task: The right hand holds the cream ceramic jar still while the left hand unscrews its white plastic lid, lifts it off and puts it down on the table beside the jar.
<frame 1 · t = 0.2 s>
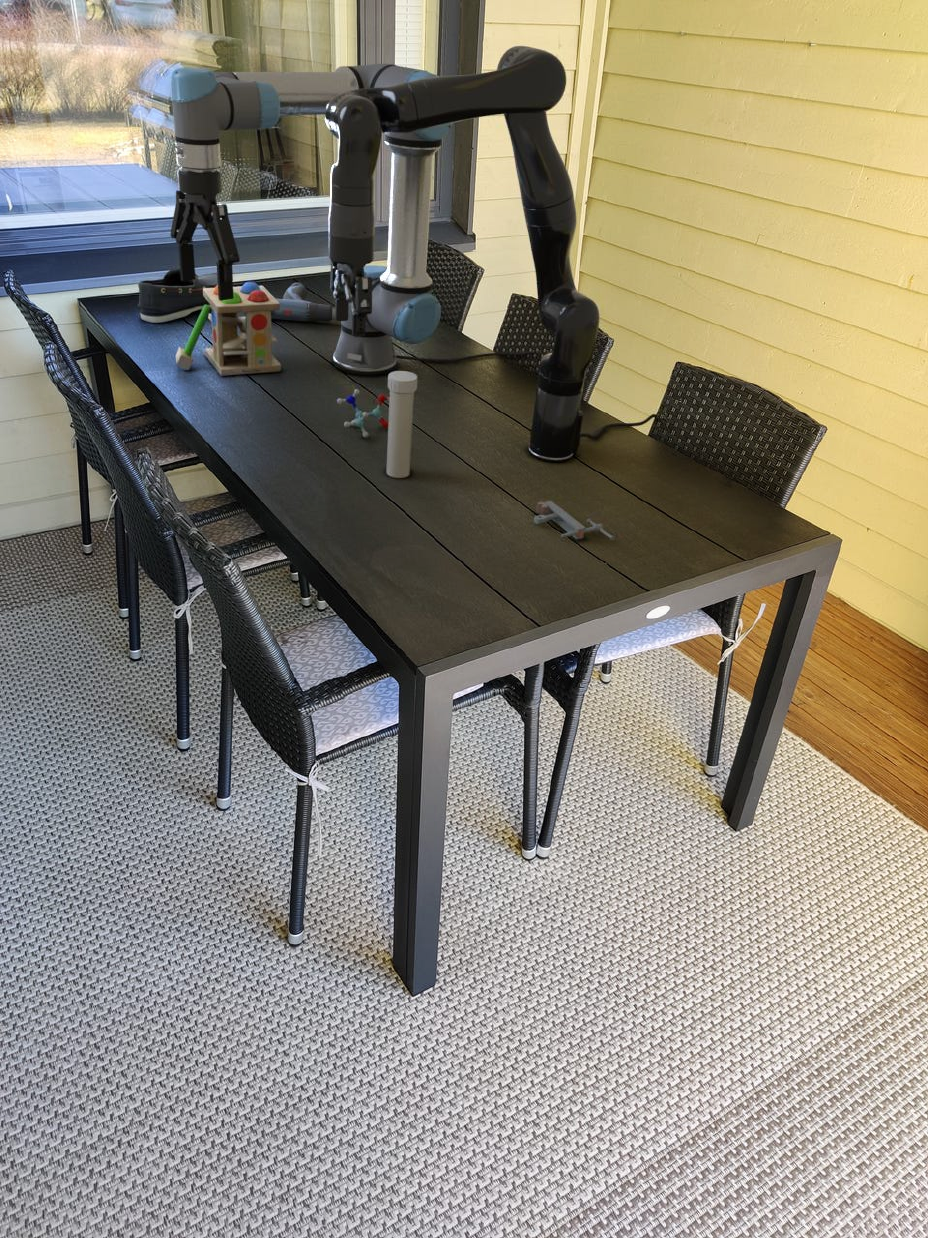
left hand: (206, 289, 186), 28 cm above the table, tool pointing down, fingers open, 13 cm apart
right hand: (349, 328, 170), 29 cm above the table, tool pointing down, fingers open, 8 cm apart
molecular model: (362, 429, 207), on the table
pounding bench toy: (225, 365, 230), on the table
power drill: (305, 313, 267), on the table
clamp: (567, 530, 178), on the table
boat shoe: (186, 307, 263), on the table
jar: (397, 472, 191), on the table
lid: (402, 377, 180), point 19 cm above the table, screwed on, not yet turned
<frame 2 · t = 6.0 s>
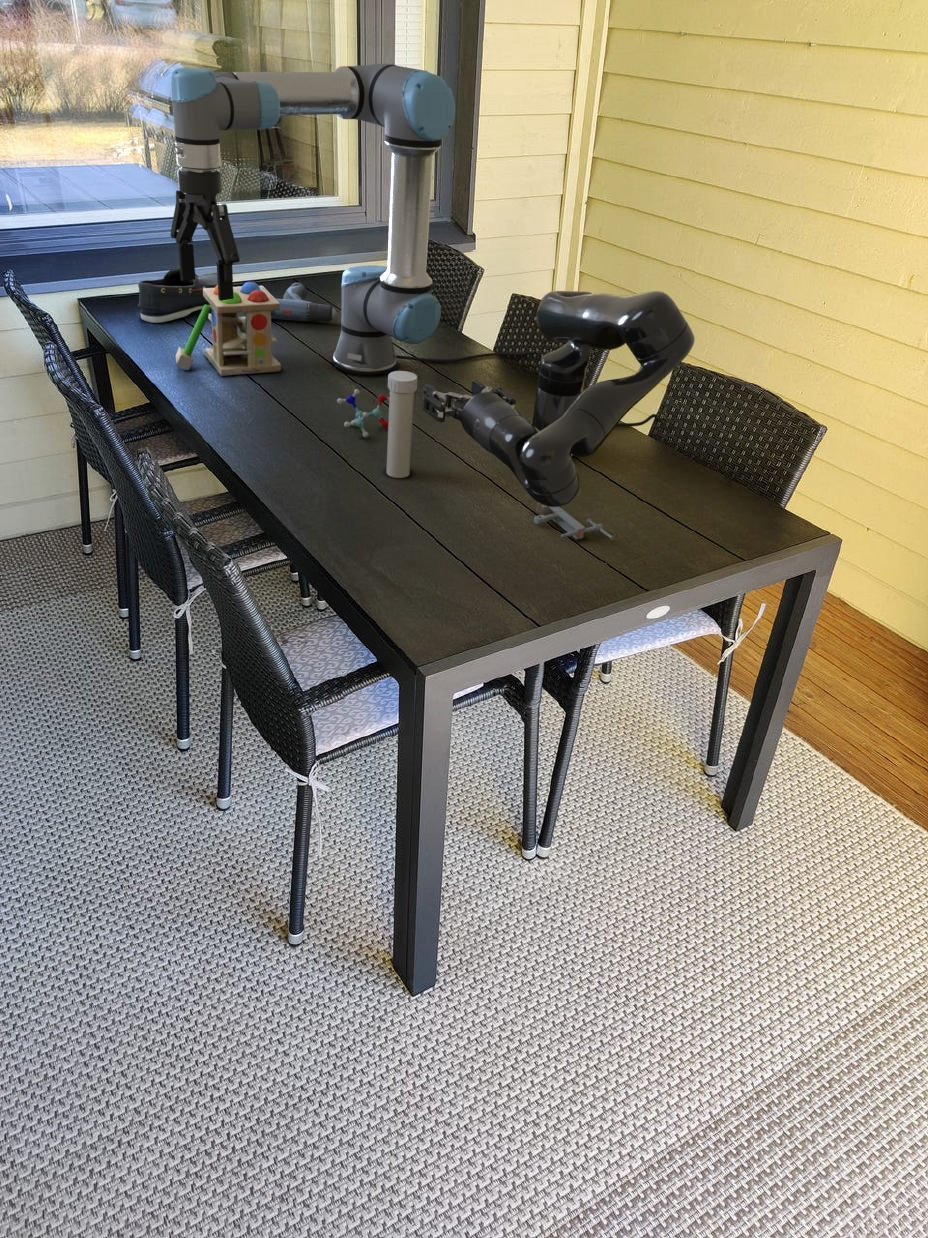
left hand: (206, 289, 186), 28 cm above the table, tool pointing down, fingers open, 13 cm apart
right hand: (450, 387, 161), 25 cm above the table, tool horizontal, fingers open, 8 cm apart
nothing on the table moved.
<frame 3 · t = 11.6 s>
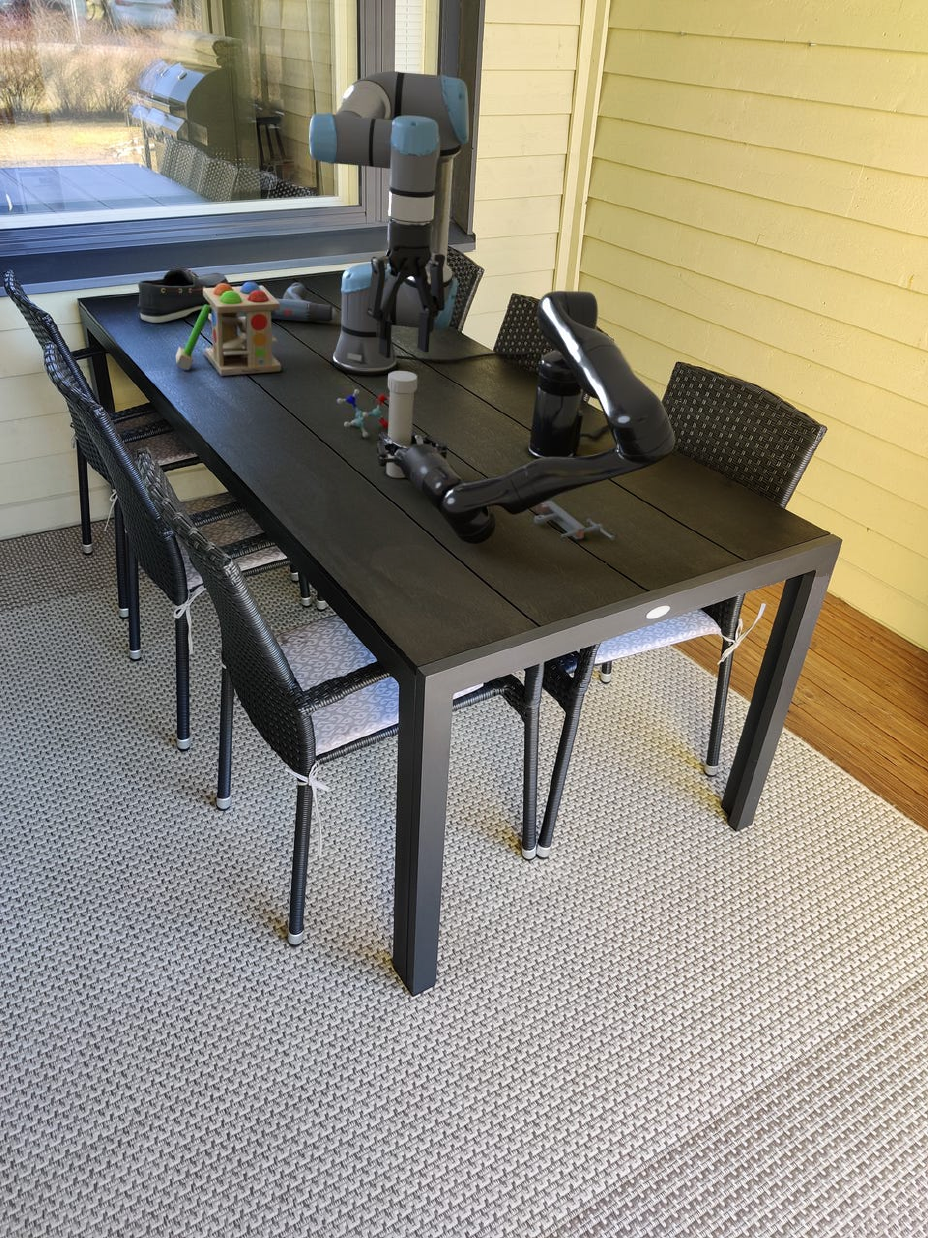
left hand: (403, 352, 178), 24 cm above the table, tool pointing down, fingers open, 7 cm apart
right hand: (394, 434, 189), 7 cm above the table, tool horizontal, fingers closed on jar, 4 cm apart
jar: (397, 472, 191), on the table, touching right hand
everything else where it was.
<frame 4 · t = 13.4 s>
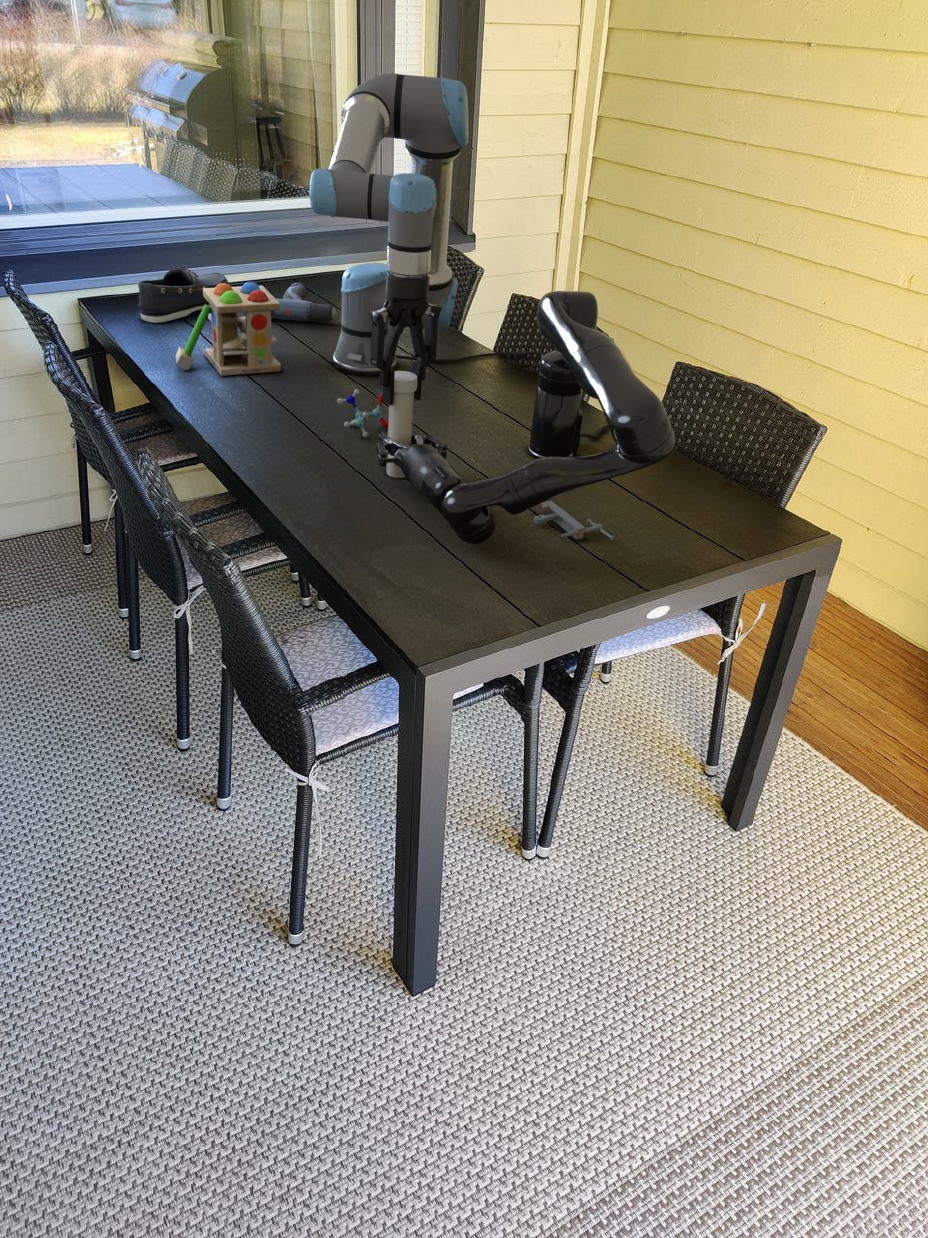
left hand: (401, 399, 183), 15 cm above the table, tool pointing down, fingers closed on lid, 5 cm apart
right hand: (394, 434, 189), 7 cm above the table, tool horizontal, fingers closed on jar, 4 cm apart
jar: (398, 472, 191), on the table, touching right hand
lid: (402, 377, 180), point 19 cm above the table, screwed on, not yet turned, touching left hand
everything else where it was.
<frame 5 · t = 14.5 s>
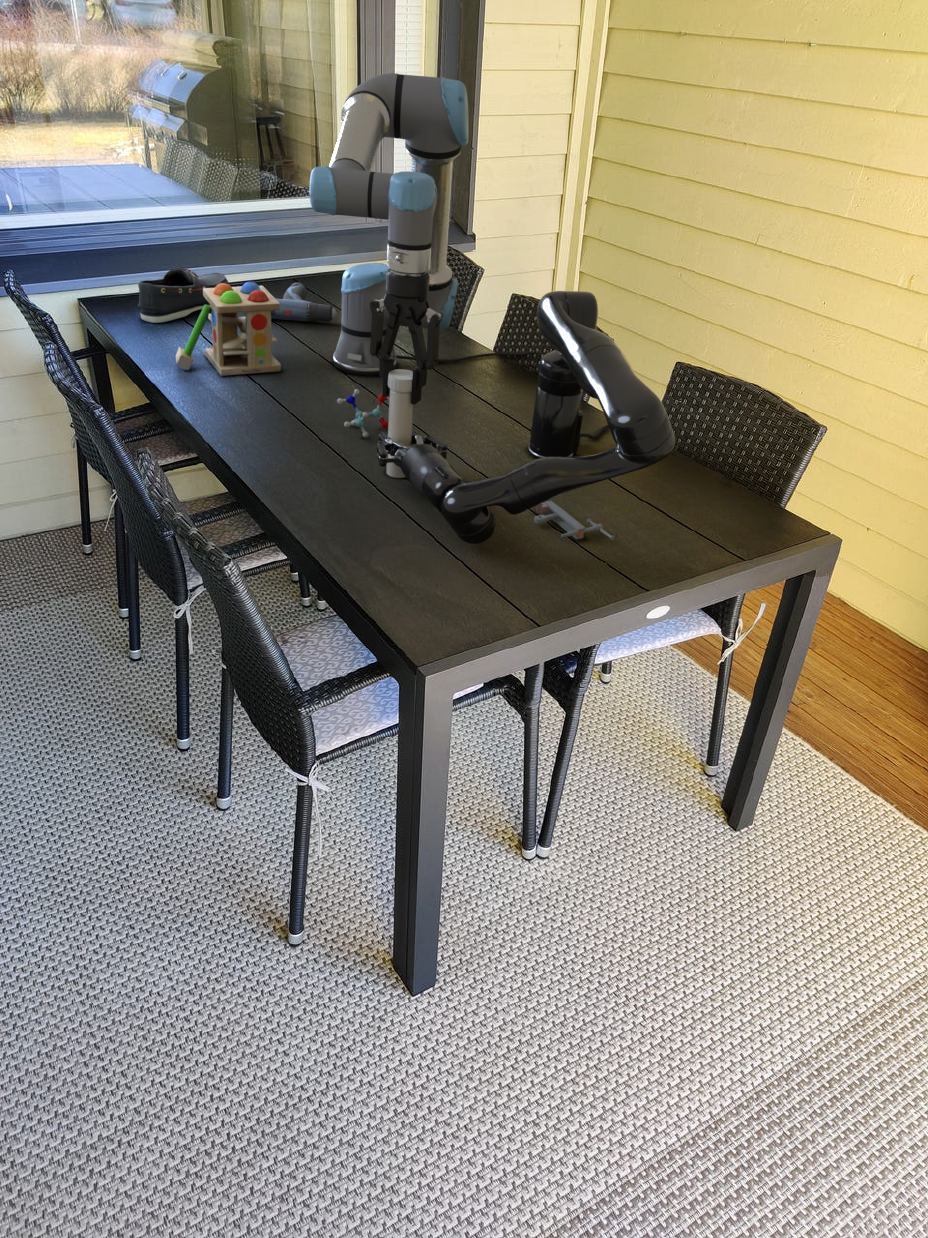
left hand: (401, 398, 182), 15 cm above the table, tool pointing down, fingers closed on lid, 5 cm apart
right hand: (394, 434, 189), 7 cm above the table, tool horizontal, fingers closed on jar, 4 cm apart
jar: (398, 472, 191), on the table, touching right hand
lid: (402, 376, 180), point 20 cm above the table, off its thread, touching left hand
everything else where it was.
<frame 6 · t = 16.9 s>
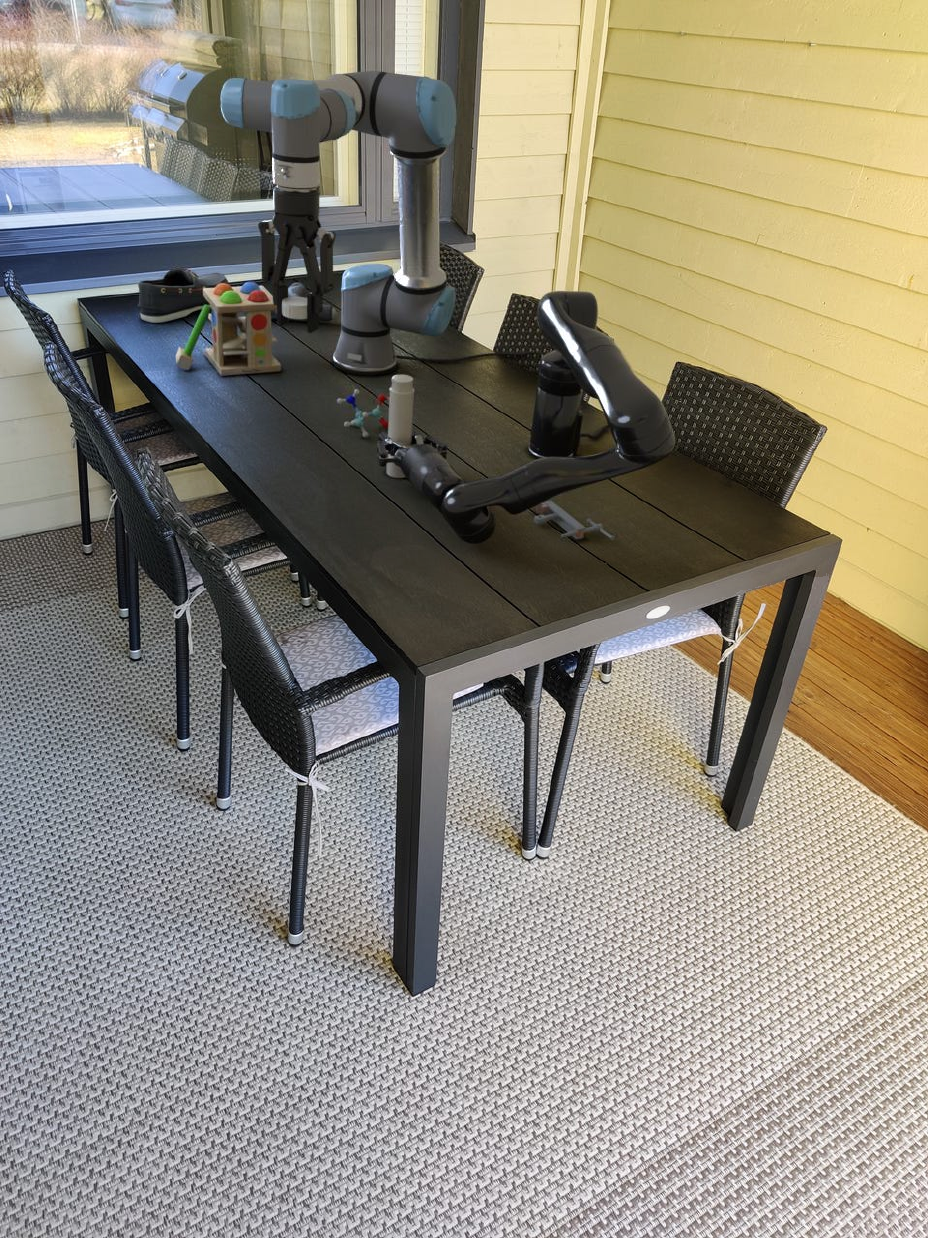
left hand: (297, 327, 174), 27 cm above the table, tool pointing down, fingers closed on lid, 5 cm apart
right hand: (394, 434, 189), 7 cm above the table, tool horizontal, fingers closed on jar, 4 cm apart
jar: (398, 472, 191), on the table, touching right hand
lid: (297, 303, 172), point 32 cm above the table, off its thread, touching left hand
everything else where it was.
when the left hand's fingers open (0 cm above the table, at t = 21.0 s): lid drops 2 cm, point 2 cm above the table.
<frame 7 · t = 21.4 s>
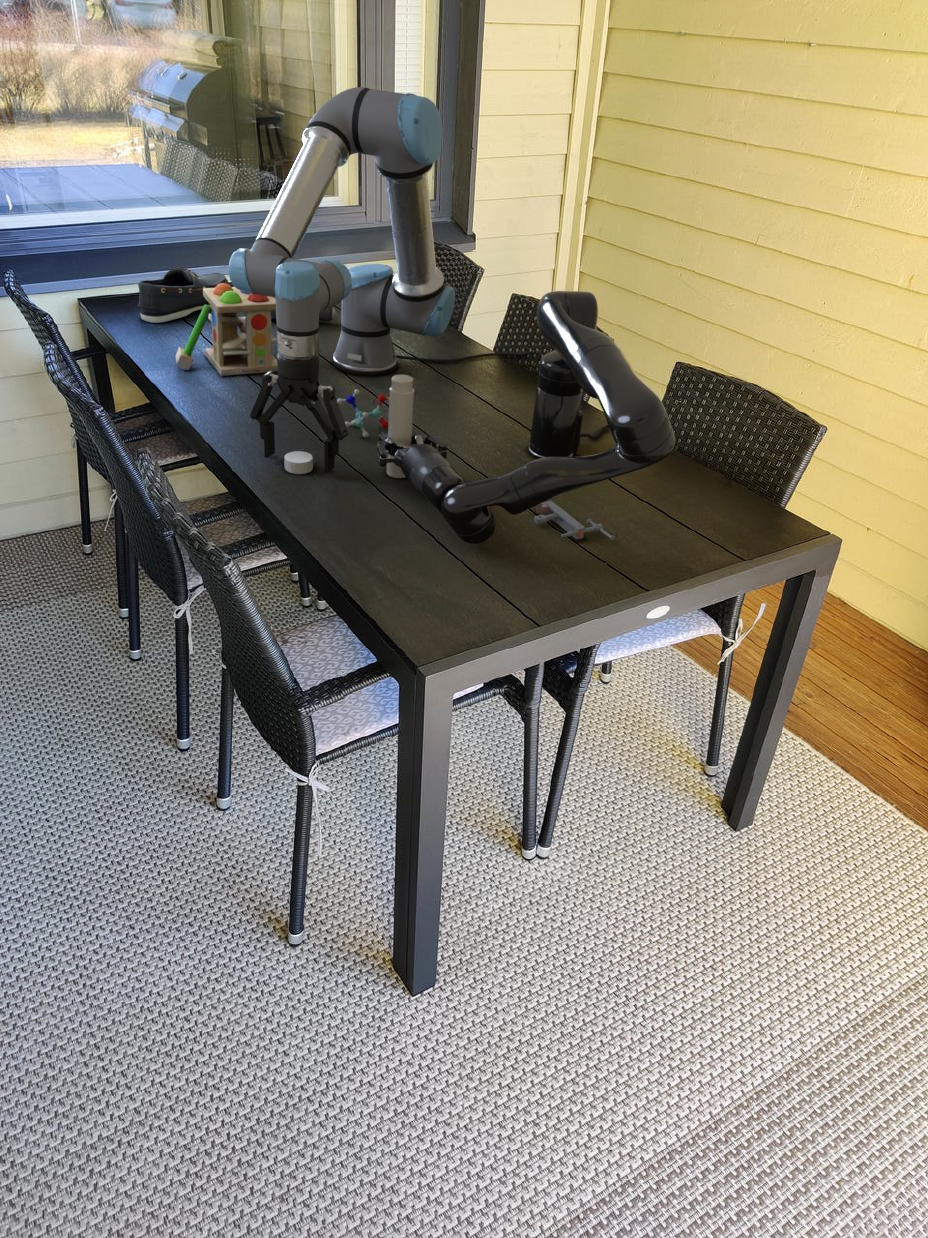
left hand: (299, 462, 189), 1 cm above the table, tool pointing down, fingers open, 12 cm apart
right hand: (394, 434, 189), 7 cm above the table, tool horizontal, fingers closed on jar, 4 cm apart
jar: (398, 472, 191), on the table, touching right hand
lid: (298, 458, 188), point 2 cm above the table, off its thread
everything else where it was.
when the right hand's fingers open (7 cm above the table, at t = 22.1 s): jar stays where it is, on the table.
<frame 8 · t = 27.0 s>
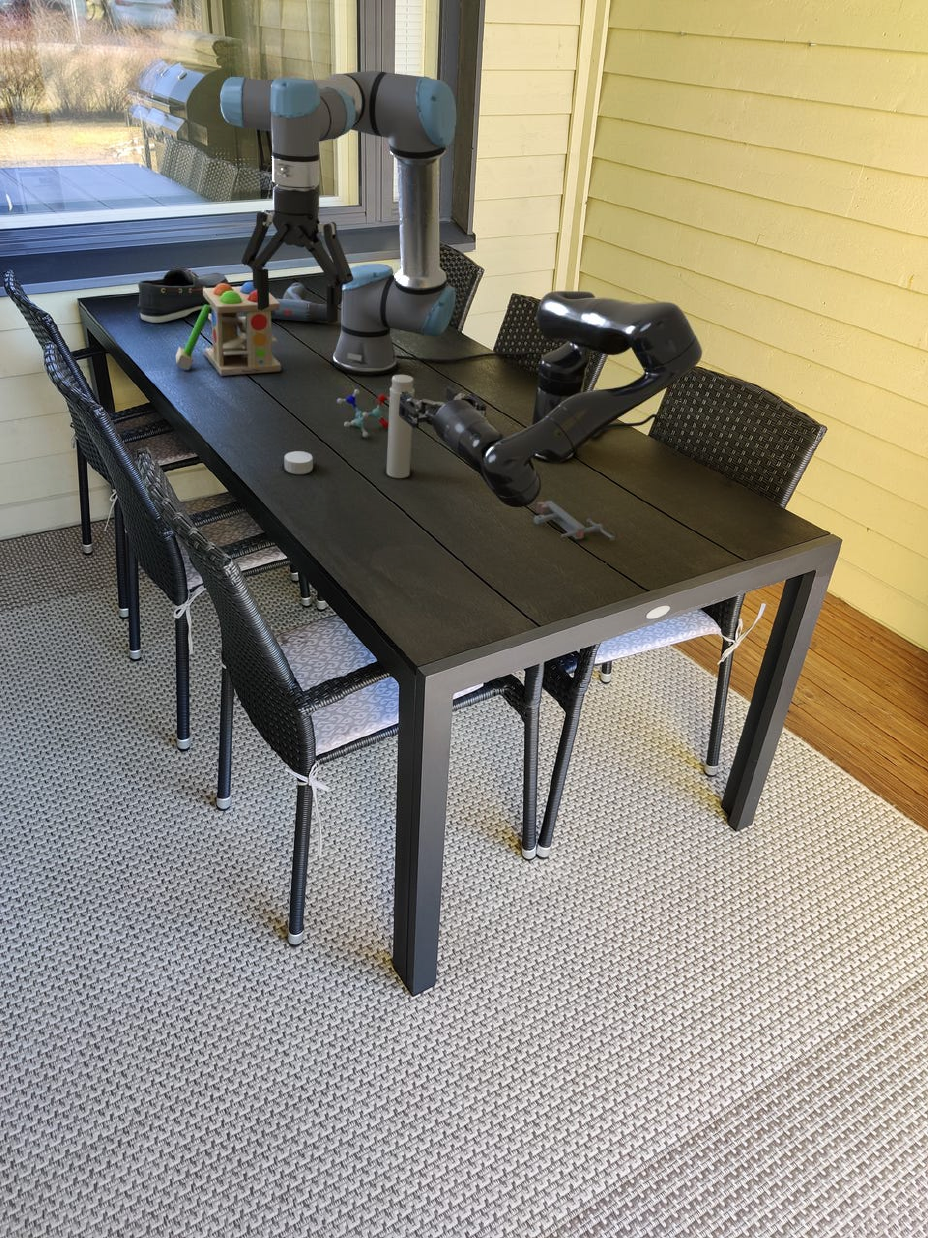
left hand: (297, 315, 173), 29 cm above the table, tool pointing down, fingers open, 13 cm apart
right hand: (426, 393, 172), 20 cm above the table, tool horizontal, fingers open, 8 cm apart
jar: (398, 472, 191), on the table
everything else where it was.
at the end: lid came off its thread; lid point 2.0 cm above the table; the left hand is holding nothing; the right hand is holding nothing; jar tilted 0°; jar moved 0.1 cm from its start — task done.
